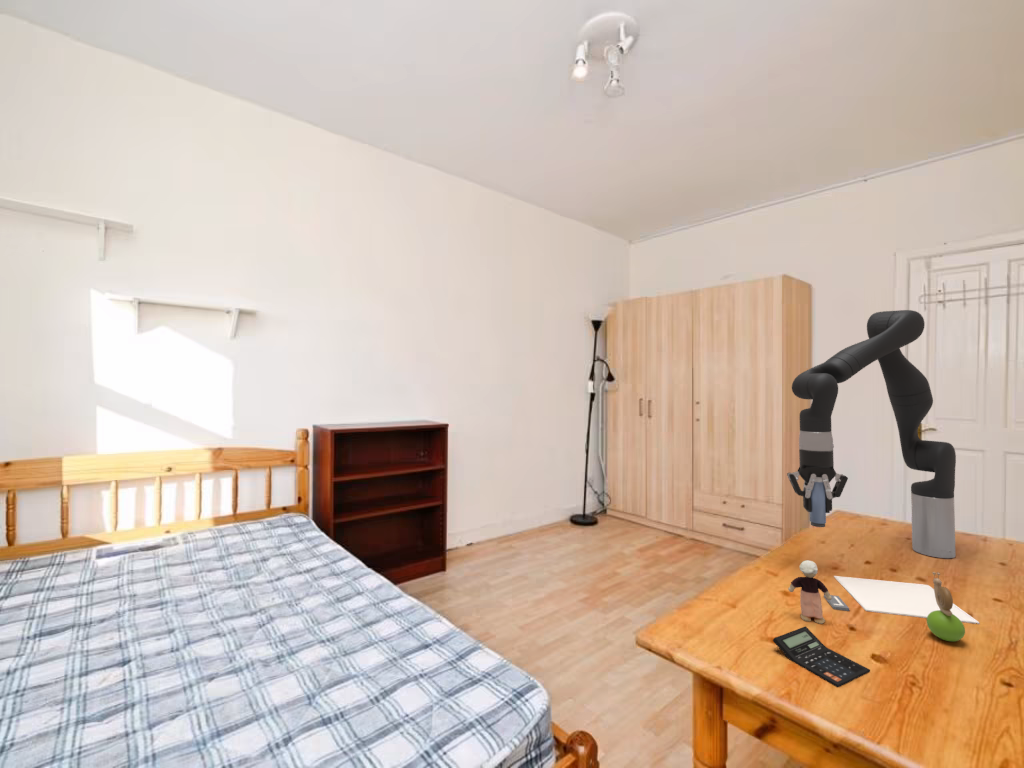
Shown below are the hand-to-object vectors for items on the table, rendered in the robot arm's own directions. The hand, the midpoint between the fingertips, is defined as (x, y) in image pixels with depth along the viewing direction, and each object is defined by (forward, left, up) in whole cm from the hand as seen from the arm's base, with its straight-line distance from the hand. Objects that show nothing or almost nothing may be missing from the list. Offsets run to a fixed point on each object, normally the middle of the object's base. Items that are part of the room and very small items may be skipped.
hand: (817, 511), depth 117 cm
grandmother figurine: (+26, -10, -17) cm, 32 cm away
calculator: (+42, -13, -18) cm, 47 cm away
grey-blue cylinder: (0, 0, -4) cm, 4 cm away
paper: (+10, +13, -17) cm, 24 cm away
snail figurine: (+27, +13, -17) cm, 34 cm away
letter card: (+17, -2, -17) cm, 24 cm away
